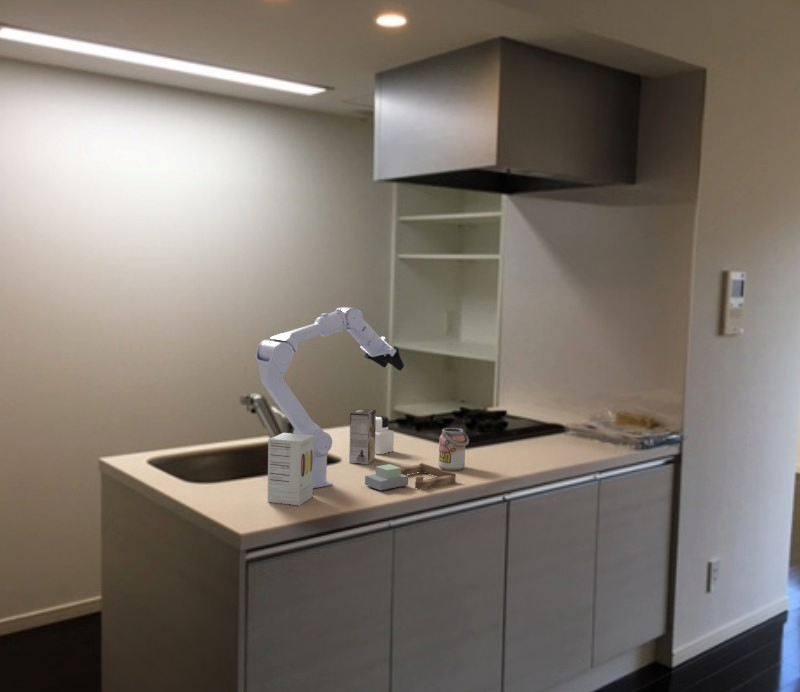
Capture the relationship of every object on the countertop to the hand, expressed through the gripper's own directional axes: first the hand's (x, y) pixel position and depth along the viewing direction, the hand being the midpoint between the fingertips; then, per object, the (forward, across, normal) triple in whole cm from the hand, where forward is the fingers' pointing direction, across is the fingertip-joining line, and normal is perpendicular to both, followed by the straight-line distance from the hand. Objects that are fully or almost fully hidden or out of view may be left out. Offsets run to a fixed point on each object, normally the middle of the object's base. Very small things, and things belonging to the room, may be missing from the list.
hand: (393, 366), depth 240 cm
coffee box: (+21, +15, +24) cm, 36 cm away
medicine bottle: (+30, +22, +16) cm, 41 cm away
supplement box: (-9, -9, +51) cm, 53 cm away
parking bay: (+21, -13, +24) cm, 34 cm away
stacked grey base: (+12, -13, +32) cm, 36 cm away
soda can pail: (+35, -8, +12) cm, 38 cm away
